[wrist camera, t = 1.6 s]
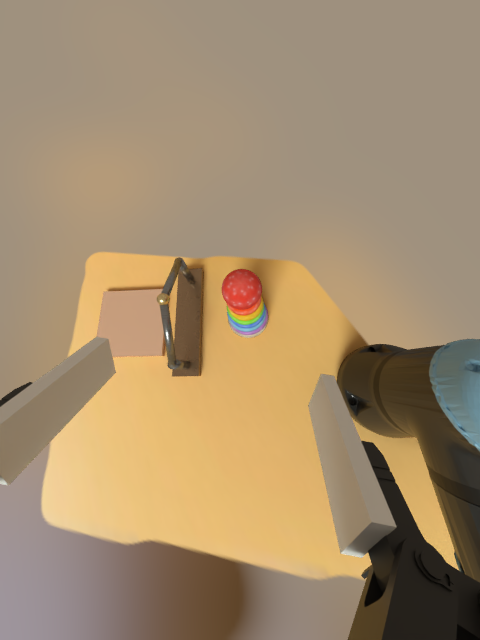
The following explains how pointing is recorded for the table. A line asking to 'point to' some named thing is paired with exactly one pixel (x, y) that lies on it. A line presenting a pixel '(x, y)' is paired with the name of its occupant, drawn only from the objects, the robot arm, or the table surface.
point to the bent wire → (183, 319)
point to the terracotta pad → (132, 323)
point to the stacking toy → (245, 303)
